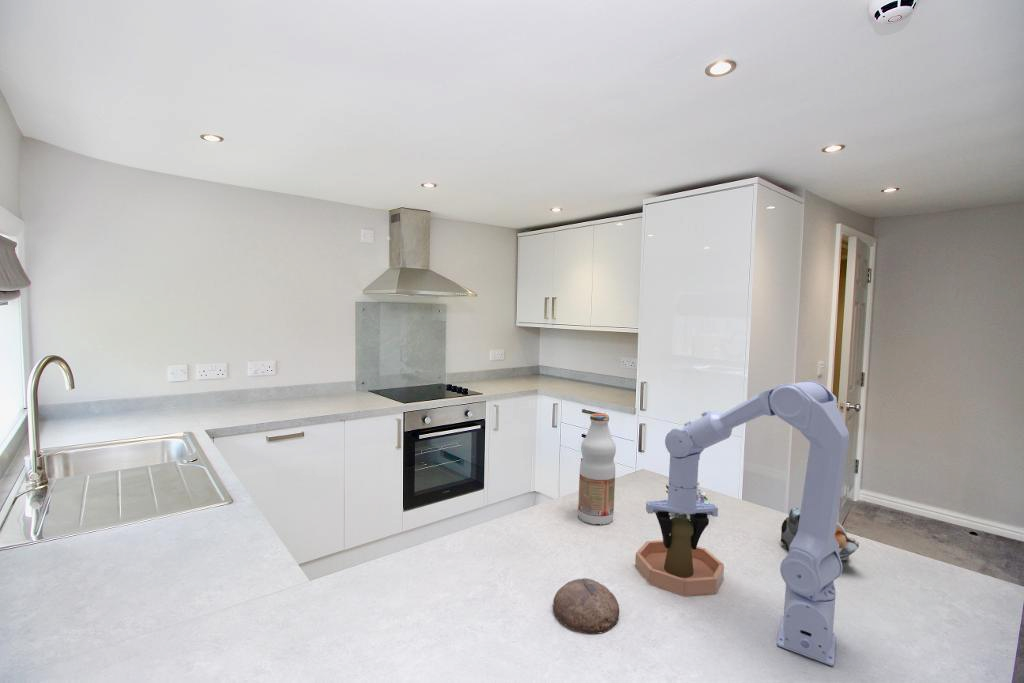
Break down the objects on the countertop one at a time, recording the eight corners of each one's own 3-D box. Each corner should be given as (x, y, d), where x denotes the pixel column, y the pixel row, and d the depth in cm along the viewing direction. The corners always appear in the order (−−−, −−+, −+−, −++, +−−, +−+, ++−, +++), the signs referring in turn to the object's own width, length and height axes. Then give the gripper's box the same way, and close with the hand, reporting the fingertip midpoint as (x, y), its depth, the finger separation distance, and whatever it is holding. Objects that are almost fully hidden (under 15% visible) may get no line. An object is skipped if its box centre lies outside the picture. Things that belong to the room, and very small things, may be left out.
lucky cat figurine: (857, 555, 112) (875, 516, 105) (836, 590, 106) (854, 551, 99) (790, 517, 122) (802, 479, 115) (767, 547, 116) (779, 508, 109)
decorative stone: (581, 644, 80) (582, 612, 79) (540, 605, 90) (541, 577, 90) (632, 622, 86) (634, 592, 85) (588, 588, 96) (589, 561, 96)
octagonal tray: (710, 605, 91) (710, 590, 91) (626, 575, 101) (627, 561, 100) (728, 568, 105) (728, 555, 104) (653, 545, 114) (653, 533, 114)
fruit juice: (585, 526, 123) (589, 419, 122) (572, 511, 132) (576, 411, 131) (619, 524, 125) (624, 418, 124) (604, 509, 135) (608, 411, 133)
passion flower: (687, 538, 131) (668, 506, 127) (669, 514, 141) (651, 484, 138) (722, 516, 130) (704, 484, 127) (702, 494, 141) (685, 464, 137)
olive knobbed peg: (696, 579, 99) (698, 527, 98) (665, 575, 100) (668, 524, 99) (691, 564, 105) (693, 515, 104) (662, 561, 106) (664, 512, 105)
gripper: (710, 479, 105) (707, 539, 106) (643, 476, 106) (640, 536, 107) (723, 491, 98) (719, 555, 99) (651, 487, 99) (648, 551, 100)
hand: (679, 546), depth 102 cm, fingers closed on olive knobbed peg, 5 cm apart
